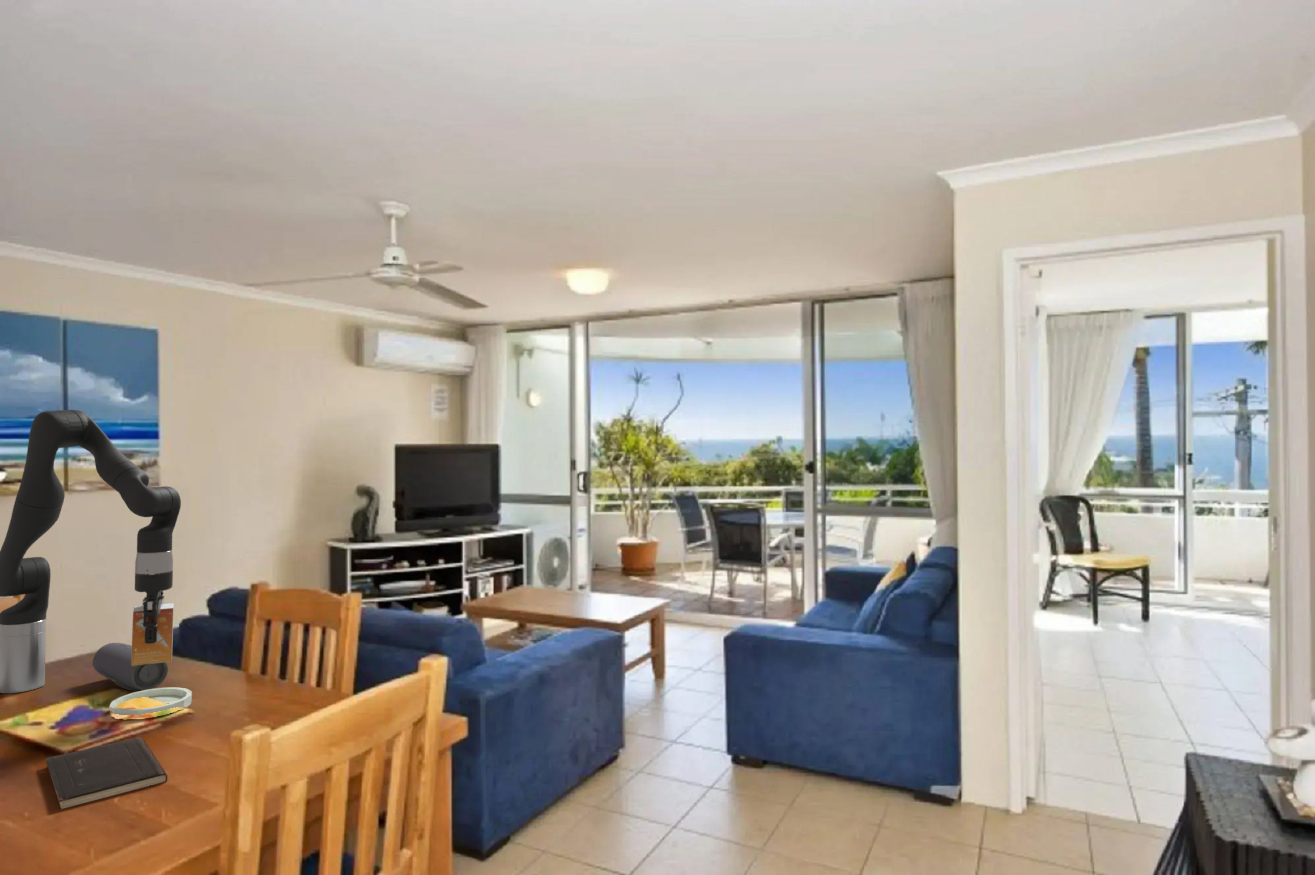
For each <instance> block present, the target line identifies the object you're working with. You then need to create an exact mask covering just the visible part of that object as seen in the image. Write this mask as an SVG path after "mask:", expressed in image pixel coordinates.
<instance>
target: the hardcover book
mask: <svg viewBox="0 0 1315 875" xmlns="http://www.w3.org/2000/svg"><path fill="white" fill-rule="evenodd" d="M45 762H46V763H45V764H46V766H47V769H48V772H49V776H50V779H51V782H52V786H53V789H54V792H55V795H56V798H57V801H58V803H59V806H60V808H61V810H64V809H66V808H71V807H75V806H78V805H82V804H85V803H89V802H94V801H97V800H100V799H101V800H102V799H105V798H108V797H112V796H116V795H120V794H124V793H128V792H131V791H135V790H139V789H142V788H147V787H150V785H151V786H153V785H154V786H155V785H158V784H161V783H166V782H165V781H167V782H168V774H167V773H166V771H165V770H164V768H163V766H162V765H161V764H160V762H159V760H158V759H157V757H156V756H155V754H154V752H153V751H152V749H151V747H149V745H148V744H147V743H146V741H145V738H143V737H141V736H138V737H134V738H130V739H125V740H121V741H116V742H112V743H108V744H103V745H99V746H94V747H90V748H85V749H81V750H77V751H72V752H71V751H70V752H67V753H63V754H60V755H54V756H50V757H46V758H45Z"/></svg>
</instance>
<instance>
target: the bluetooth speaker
mask: <svg viewBox="0 0 1315 875" xmlns="http://www.w3.org/2000/svg"><path fill="white" fill-rule="evenodd" d="M131 656H132V644H131V645H130V644H127V643H120V642H110V643H106V644H105V645H103V646H101V647H100V648H98V650H97V651H96V653H95V654H94V656H93V659H92V666H93V669H94V670H95V671H96V672H97V673H98V674H99V675H101V676H103V677H104V678H107V679H108V680H110V681H112V682H114V683H115V685H116V686H118V687H120V688H122V689H125V690H127V691H131V692H136V691H143V690H148V689H156V688H158V686H160V685H162V683H163V682H164V680H166V677H167V676H168V672H169V667H168V664H167V662H163V663H154V664H144V665H136V666H131Z"/></svg>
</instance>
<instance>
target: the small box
mask: <svg viewBox="0 0 1315 875" xmlns="http://www.w3.org/2000/svg"><path fill="white" fill-rule="evenodd" d="M174 605H175V604H174V603H173V602H171V603H163V605H162V606H161V609H157V612H158V610H160V616H159V617H158V625H157V641H156V642H155V643H150V644H146V643H145V628H144V627H143V614H144V610H143V605H139V606H138V605H137V606H135V605H134V606H133V611H132V625H131V626H132V629H131V631H132V632H131V646H132V656H131V666H136V665H144V664H154V663H163V662H166V663H171V662H172V661H173V641H174V637H173V636H174V608H175V606H174ZM150 611H152V610H150ZM148 621H154V617H149V618H148Z"/></svg>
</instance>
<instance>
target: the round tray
mask: <svg viewBox="0 0 1315 875" xmlns="http://www.w3.org/2000/svg"><path fill="white" fill-rule="evenodd" d="M141 697H149V698H155V699H157V700H158V701H161V702H163V703H169V704H166V705H162V706H157V707H151V708H144V709H123V708H118V707H117V705H119V704H120V703H123V702H124V701H128V700H130V699H133V698H141ZM192 697H193V692H192V690H190V689H188V688H184V687H179V686H177V687H175V686H174V687H172V686H171V687H155V688H153V689H148V690H138V691H133V692H131V693H128V694H125V695H122V696H119V697H117V698H116V699H114V700H112V701H111V702H110V704H109V710H110V711H112V712H113V713H114V714H119V715H141V714H146V713H153V712H158V711H163V710H167V709H170V708H174V707H175V708H176V707H186V708H189V706H191V705H192V700H193V698H192Z"/></svg>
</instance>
